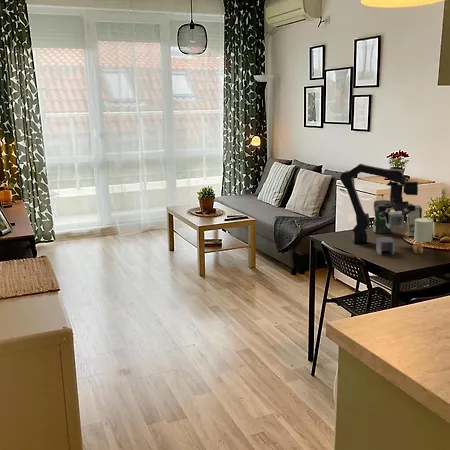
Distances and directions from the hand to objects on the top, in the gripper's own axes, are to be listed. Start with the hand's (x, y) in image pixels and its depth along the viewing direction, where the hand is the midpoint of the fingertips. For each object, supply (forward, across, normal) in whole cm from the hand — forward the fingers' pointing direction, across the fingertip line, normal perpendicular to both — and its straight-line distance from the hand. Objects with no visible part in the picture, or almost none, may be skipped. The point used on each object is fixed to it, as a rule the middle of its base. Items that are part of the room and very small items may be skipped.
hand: (394, 224), depth 265 cm
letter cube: (+11, +8, -14) cm, 19 cm away
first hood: (+11, -8, -14) cm, 19 cm away
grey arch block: (+2, 0, 0) cm, 2 cm away
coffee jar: (+12, 0, +26) cm, 28 cm away
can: (+11, +17, +5) cm, 21 cm away
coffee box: (+11, +16, +17) cm, 26 cm away
